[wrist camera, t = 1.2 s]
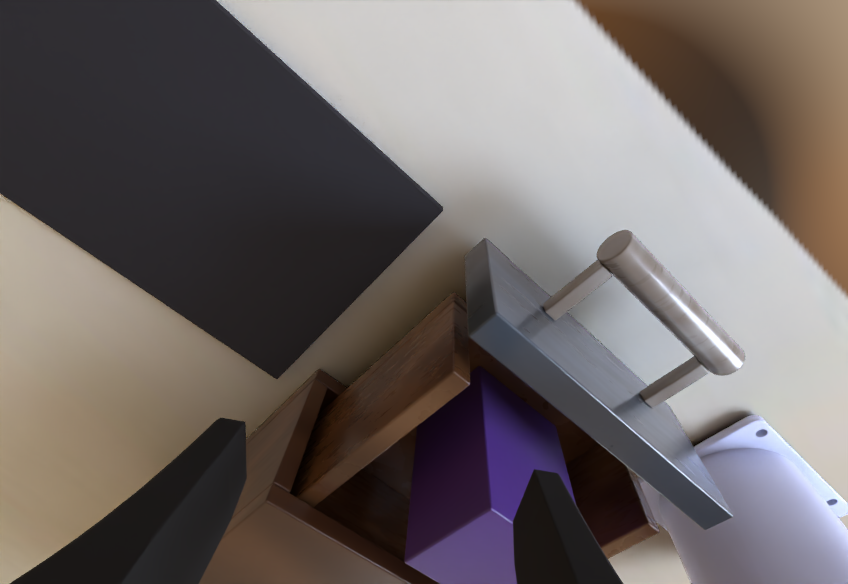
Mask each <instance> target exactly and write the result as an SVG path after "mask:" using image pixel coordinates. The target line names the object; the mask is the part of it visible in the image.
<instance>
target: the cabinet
mask: <svg viewBox="0 0 848 584" xmlns="http://www.w3.org/2000/svg"><path fill="white" fill-rule="evenodd" d="M346 389H347V388H346V387H345V386H343V385H342V384H341V383H339V382H338V381H336V380H335V379H333V378H332V377H331V376H329V375H328V374H326V373H325V372H323V371H322V370H321V369H319V370H317V371H316V372H315V373H314V374H313V375H312V376H311V377H310V378H309V379H308V380H307V381H306V382H305V383H304V384H303V385H302V386H301V387H300V388H299V389H298V390H297V391H296V392H295V393H294V394H293V395H292V396H291V397H290V398H289V399H288V400H287V401H285V402H284V403H283V404H282V405H281V406H280V407H279V408H278V409H277V410H276V411H275V412H274V413H273V414H272V415H271V416H270V417H269V418H268V419H267V420H266V421H265V422H264V423H263V424H262V425H261V426H260V427H259V428H258V429H257V430H256V431H255V432H254V433H252V434H251V435H250V436H249V437H248V438H247V439H246V469H247V479H246V482H245V484H244V487H243V490H242V493H241V495H240V498H239V501H238V503H237V506H236V508H235V511H234V513H233V516H232V519H231V521H230V523H229V525H228V527H227V529H226V531H225V533H224V535H223V537H222V539H221V541H220V543H219V545H218V547H217V549H216V551H215V553H214V555H213V557H212V559H211V561H210V563H209V564H208V566H207V568H206V570H205V572H204V574H203V576H202V578H201V580H200V582H199V584H440V583H438V582H436V581H435V580H433V579H431V578H430V577H428V576H426V575H425V574H423V573H421V572H419V571H418V570H416V569H414V568H413V567H411V566H409V565H408V564H406V563H405V562H404V561H403V560H401V559H399V558H398V557H396V556H394V555H393V554H391V553H389V552H388V551H386V550H384V549H383V548H381V547H379V546H377V545H376V544H374V543H372V542H371V541H369V540H367V539H366V538H364V537H362V536H361V535H359V534H357V533H356V532H354V531H352V530H351V529H349V528H347V527H346V526H344V525H342V524H340V523H339V522H337V521H335V520H334V519H332V518H330V517H329V516H327V515H325V514H324V513H322V512H320V511H319V510H317V509H315V508H314V507H312V506H310V505H308V504H307V503H305V502H303V501H302V500H300V499H298V498H297V497H295V496H293V495H292V494H290V491H291V489H292V486H293V483H294V480H295V477H296V475H297V472H298V469H299V466H300V464H301V461H302V458H303V455H304V452H305V450H306V447H307V444H308V441H309V438H310V436H311V433H312V430H313V427H314V424H315V422H316V419H317V416H318V414H319V413H320V412H322V411H323V410H324V409H325V408H326V407H327V406H328V405H329V404H330V403H332V402H333V401H334V400H335V399H336V398H337V397H338V396H339V395H340V394H341V393H343V392H344V391H345V390H346Z"/></svg>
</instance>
